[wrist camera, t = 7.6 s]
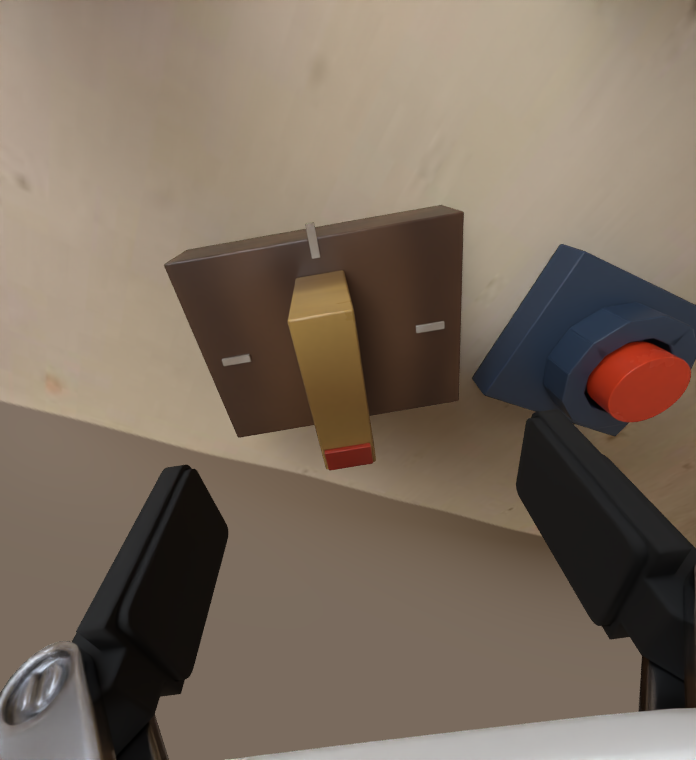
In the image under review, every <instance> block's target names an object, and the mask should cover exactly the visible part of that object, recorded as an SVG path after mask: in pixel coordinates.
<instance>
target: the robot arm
mask: <svg viewBox="0 0 696 760" xmlns="http://www.w3.org/2000/svg"><path fill="white" fill-rule="evenodd" d="M516 488H517V492H518V495H519V497H520V499H521V501H522V502H523V504H524V506H525V507H526V509H527V511H528V513H529V514H530V516H531V518H532V519H533V521H534V523H535V525H536V526H537V528H538V530H539V531H540V533H541V535H542V537H543V538H544V540H545V542H546V543H547V545H548V547H549V549H550V550H551V552H552V554H553V555H554V557H555V559H556V561H557V562H558V564H559V566H560V567H561V569H562V571H563V572H564V574H565V576H566V578H567V579H568V581H569V583H570V585H571V586H572V588H573V590H574V591H575V593H576V595H577V597H578V598H579V600H580V602H581V603H582V605H583V607H584V609H585V610H586V612H587V614H588V615H589V617H590V618H591V620H592V621H593V622H594V623H595V624H596V625H598V626H602V627H603V629H604V630H605V632H606V634H607V635H608V637H609V639H617V638H624V637H630V638H631V639H632V641H633V643H634V644H635V646H636V647H637V649H638V650H639V652H640V653H641V655H642V664H641V681H640V698H639V712H632V713H621V714H611V715H601V716H600V715H599V716H588V717H580V718H572V719H562V720H553V721H545V722H537V723H527V724H518V725H510V726H502V727H492V728H484V729H475V730H466V731H457V732H449V733H442V734H432V735H424V736H416V737H407V738H399V739H391V740H382V741H374V742H365V743H357V744H349V745H340V746H332V747H324V748H316V749H307V750H300V751H291V752H283V753H275V754H267V755H259V756H252V757H244V758H235V759H227V760H696V548H695V547H694V546H693V545H692V544H691V543H690V542H689V541H688V540H687V539H686V538H685V537H684V536H683V535H682V534H681V533H680V532H679V531H678V530H677V529H676V528H675V527H674V526H673V525H672V524H671V522H670V521H669V520H668V519H667V518H666V517H665V516H664V515H663V514H662V513H661V512H660V511H659V510H658V509H657V508H656V507H655V506H654V505H653V504H652V503H651V502H650V501H649V500H648V499H647V498H646V497H645V496H644V495H643V493H642V492H641V491H640V490H639V489H638V488H637V487H636V486H635V485H634V484H633V483H632V482H631V481H630V480H629V479H628V478H627V477H626V476H625V475H624V474H623V473H622V472H621V471H620V470H619V469H618V468H617V467H616V465H615V464H614V463H613V462H612V461H611V460H610V459H608V458H607V457H606V456H605V455H603V454H601V453H600V452H599V451H598V450H597V448H596V447H595V446H594V445H593V444H592V443H591V442H590V441H589V440H588V439H587V438H586V437H585V436H584V435H583V434H582V433H581V432H580V431H579V430H578V429H577V428H576V427H575V425H574V424H573V423H572V422H571V421H570V420H569V419H568V418H567V417H566V416H565V415H564V414H563V413H562V412H561V411H560V410H558V409H552V410H545V411H539V412H534V413H533V414H532V417H531V418H529V419H527V421H526V426H525V432H524V438H523V444H522V450H521V456H520V463H519V469H518V475H517V481H516ZM227 539H228V527H227V524H226V523H225V521H224V519H223V517H222V515H221V514H220V512H219V510H218V508H217V506H216V504H215V503H214V501H213V499H212V498H211V496H210V494H209V492H208V490H207V488H206V486H205V485H204V483H203V481H202V479H201V477H200V475H199V474H198V472H197V470H195V469H191V467H190V466H188V465H181V466H174V467H168V468H165V469H164V470H163V471H162V473H161V475H160V477H159V478H158V480H157V482H156V484H155V486H154V488H153V490H152V491H151V493H150V495H149V497H148V499H147V501H146V503H145V505H144V506H143V508H142V510H141V512H140V514H139V516H138V518H137V519H136V521H135V523H134V525H133V527H132V529H131V531H130V532H129V534H128V536H127V538H126V540H125V542H124V544H123V545H122V547H121V549H120V551H119V553H118V555H117V557H116V558H115V560H114V562H113V564H112V566H111V568H110V569H109V571H108V573H107V575H106V577H105V579H104V581H103V583H102V584H101V586H100V588H99V590H98V592H97V594H96V596H95V598H94V599H93V601H92V603H91V605H90V607H89V608H88V611H87V612H86V614H85V616H84V618H83V620H82V621H81V624H80V625H79V627H78V629H77V631H76V632H77V633H76V635H75V637H74V639H73V641H72V642H70V641H60V642H57V643H54V644H51V645H48V646H47V647H45V648H44V649H42V650H41V651H39V652H37V653H35V654H34V655H33V656H32V657H31V658H29V659H28V660H27V661H26V662H25V663H24V664H23V665H22V666H21V667H20V668H19V669H18V670H17V671H16V672H15V673H14V675H12V677H11V678H10V679H9V680H8V682H7V683H6V685H5V686H4V688H3V689H2V691H1V692H0V760H169V758H168V755H167V752H166V749H165V745H164V742H163V739H162V736H161V733H160V729H159V726H158V723H157V720H156V717H155V711H156V708H157V704H158V701H159V698H160V696H168V695H175V694H181V691H182V687H183V684H184V680H185V679H187V678H188V677H189V676H190V675H191V673H192V670H193V667H194V664H195V660H196V656H197V652H198V648H199V645H200V641H201V637H202V633H203V630H204V626H205V622H206V618H207V615H208V611H209V607H210V603H211V600H212V596H213V592H214V588H215V584H216V581H217V577H218V573H219V569H220V566H221V562H222V558H223V554H224V551H225V547H226V543H227Z"/></svg>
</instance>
